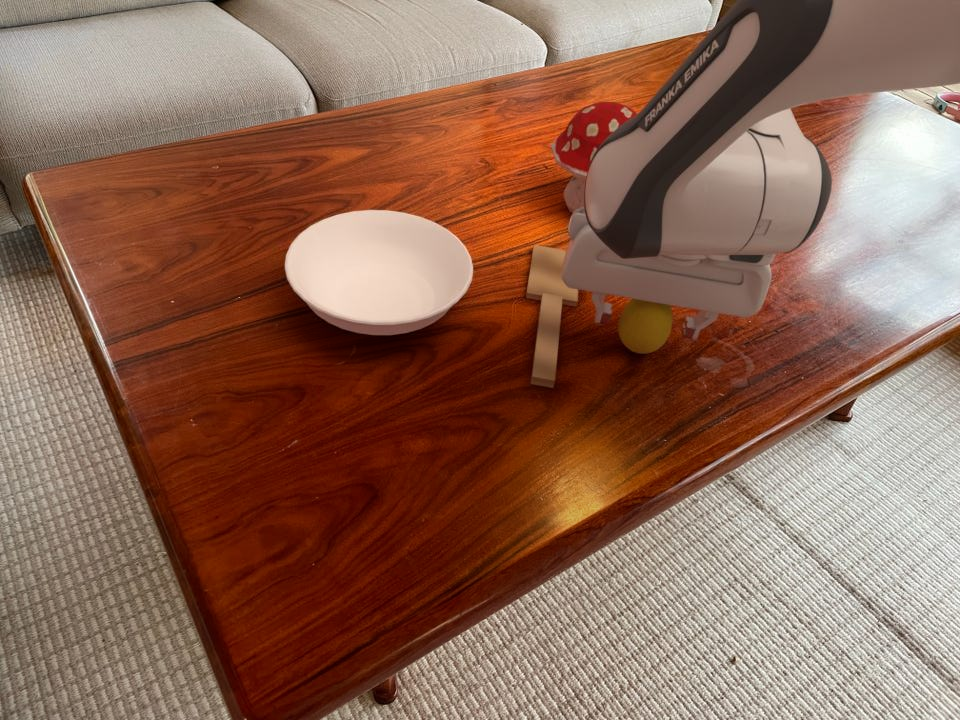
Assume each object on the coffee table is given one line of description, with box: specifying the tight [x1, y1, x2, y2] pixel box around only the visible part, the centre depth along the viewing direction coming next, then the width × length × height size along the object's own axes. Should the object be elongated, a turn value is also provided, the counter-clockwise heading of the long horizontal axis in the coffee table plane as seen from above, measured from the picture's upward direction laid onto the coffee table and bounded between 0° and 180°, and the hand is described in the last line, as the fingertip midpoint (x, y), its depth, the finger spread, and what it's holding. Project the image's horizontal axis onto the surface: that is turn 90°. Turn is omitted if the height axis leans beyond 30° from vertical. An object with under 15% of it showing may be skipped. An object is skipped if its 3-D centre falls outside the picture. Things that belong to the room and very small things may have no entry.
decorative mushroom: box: [550, 101, 638, 214], centre depth 97 cm, size 14×14×15 cm
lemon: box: [617, 298, 674, 355], centre depth 79 cm, size 6×6×8 cm
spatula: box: [525, 244, 579, 389], centre depth 84 cm, size 24×6×1 cm, turn 172°
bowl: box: [284, 209, 474, 336], centre depth 80 cm, size 20×20×6 cm
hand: (644, 327), depth 79 cm, fingers open, 8 cm apart
